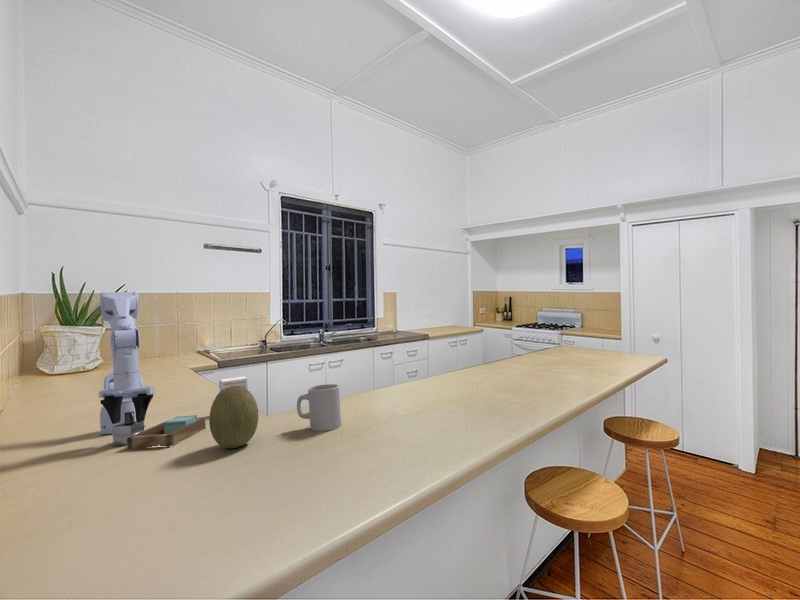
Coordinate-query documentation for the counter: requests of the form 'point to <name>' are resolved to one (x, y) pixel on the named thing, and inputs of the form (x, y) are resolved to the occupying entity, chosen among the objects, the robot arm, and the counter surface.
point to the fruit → (233, 417)
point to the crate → (178, 423)
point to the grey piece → (125, 432)
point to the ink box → (233, 382)
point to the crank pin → (129, 418)
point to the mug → (322, 407)
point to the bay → (163, 435)
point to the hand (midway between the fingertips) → (128, 422)
